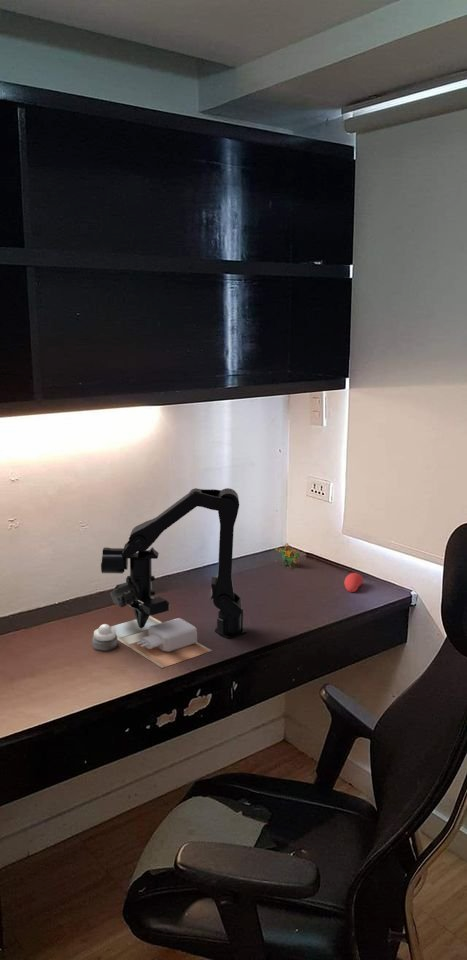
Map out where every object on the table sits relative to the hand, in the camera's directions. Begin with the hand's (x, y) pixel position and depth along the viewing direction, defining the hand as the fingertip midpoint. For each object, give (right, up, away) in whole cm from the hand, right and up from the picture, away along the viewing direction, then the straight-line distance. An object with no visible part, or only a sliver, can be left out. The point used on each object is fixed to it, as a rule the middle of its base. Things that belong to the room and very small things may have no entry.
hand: (141, 627), depth 204 cm
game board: (+1, -3, -7) cm, 7 cm away
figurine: (+44, +10, +55) cm, 71 cm away
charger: (+7, -3, -8) cm, 11 cm away
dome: (-9, -1, -8) cm, 12 cm away
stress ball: (+63, +5, +35) cm, 73 cm away
